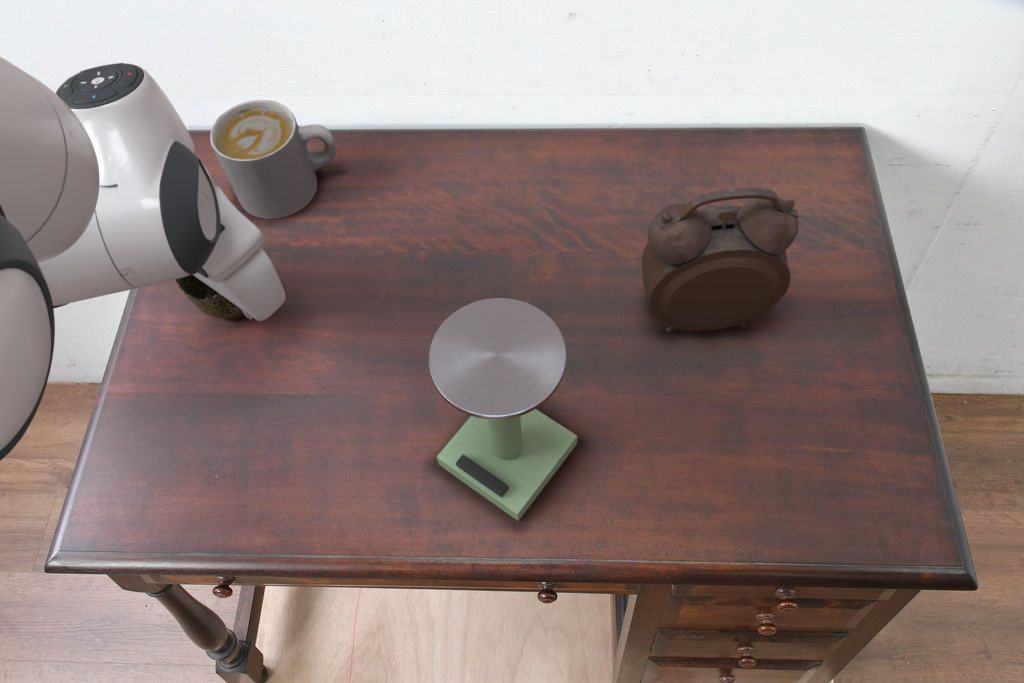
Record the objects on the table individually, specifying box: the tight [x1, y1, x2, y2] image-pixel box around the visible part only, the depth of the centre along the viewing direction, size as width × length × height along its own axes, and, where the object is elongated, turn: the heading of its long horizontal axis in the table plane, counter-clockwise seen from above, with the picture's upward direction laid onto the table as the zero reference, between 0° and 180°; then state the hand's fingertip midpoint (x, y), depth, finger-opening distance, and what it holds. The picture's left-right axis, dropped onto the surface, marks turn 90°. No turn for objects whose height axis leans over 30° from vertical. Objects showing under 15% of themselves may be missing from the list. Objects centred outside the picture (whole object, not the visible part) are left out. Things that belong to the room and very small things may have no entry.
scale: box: [436, 408, 578, 522], centre depth 73 cm, size 10×10×18 cm
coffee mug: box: [209, 99, 337, 220], centre depth 96 cm, size 13×10×10 cm
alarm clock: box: [641, 187, 800, 333], centre depth 80 cm, size 15×7×20 cm, turn 94°
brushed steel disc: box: [428, 297, 567, 420], centre depth 64 cm, size 11×11×2 cm
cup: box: [175, 274, 246, 322], centre depth 87 cm, size 8×7×8 cm
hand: (226, 294), depth 88 cm, fingers closed on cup, 7 cm apart
